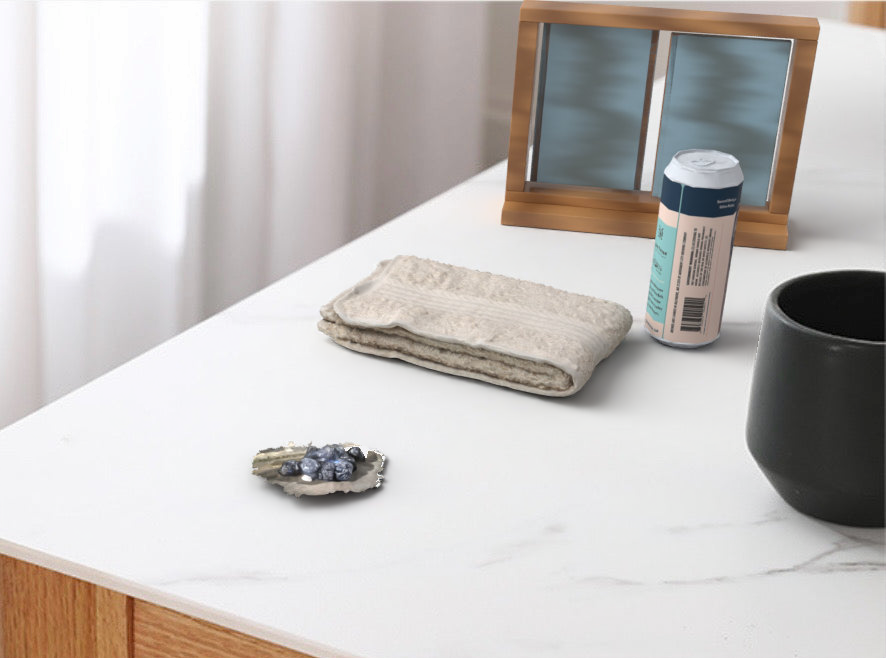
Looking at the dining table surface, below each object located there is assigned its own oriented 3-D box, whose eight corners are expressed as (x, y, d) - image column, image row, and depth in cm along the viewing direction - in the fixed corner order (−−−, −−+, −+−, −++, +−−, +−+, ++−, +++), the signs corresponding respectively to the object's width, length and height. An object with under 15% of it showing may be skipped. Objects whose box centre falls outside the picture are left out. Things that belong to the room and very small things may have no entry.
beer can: (733, 337, 102) (761, 160, 96) (691, 359, 99) (718, 177, 93) (670, 315, 105) (694, 141, 99) (628, 335, 102) (650, 157, 96)
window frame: (781, 217, 121) (815, 10, 114) (786, 250, 115) (822, 33, 108) (509, 194, 125) (526, -8, 118) (500, 224, 119) (517, 14, 112)
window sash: (641, 169, 124) (661, 13, 118) (640, 191, 120) (660, 29, 114) (535, 161, 126) (549, 6, 120) (529, 181, 121) (543, 21, 116)
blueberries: (226, 472, 85) (226, 441, 84) (333, 427, 90) (334, 397, 89) (310, 522, 81) (311, 490, 80) (418, 471, 85) (420, 441, 85)
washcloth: (386, 282, 109) (388, 240, 108) (637, 336, 102) (643, 292, 100) (307, 345, 100) (308, 300, 98) (576, 409, 92) (582, 362, 91)
